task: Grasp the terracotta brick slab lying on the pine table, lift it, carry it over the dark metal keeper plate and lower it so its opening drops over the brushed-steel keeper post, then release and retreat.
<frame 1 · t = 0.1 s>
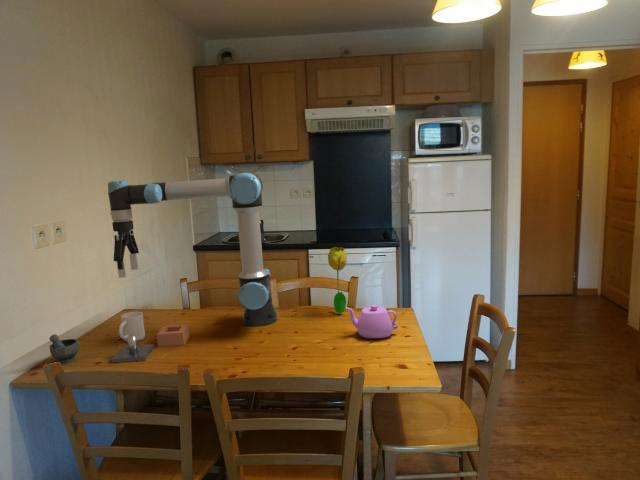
hand: (129, 273, 192), 28 cm above the table, fingers open, 13 cm apart
terracotta brick slab: (174, 341, 193), on the table
mortar and pestle: (65, 362, 178), on the table
keeper: (134, 355, 180), on the table
flower: (340, 315, 213), on the table
teapot: (372, 335, 187), on the table
mug: (131, 340, 197), on the table
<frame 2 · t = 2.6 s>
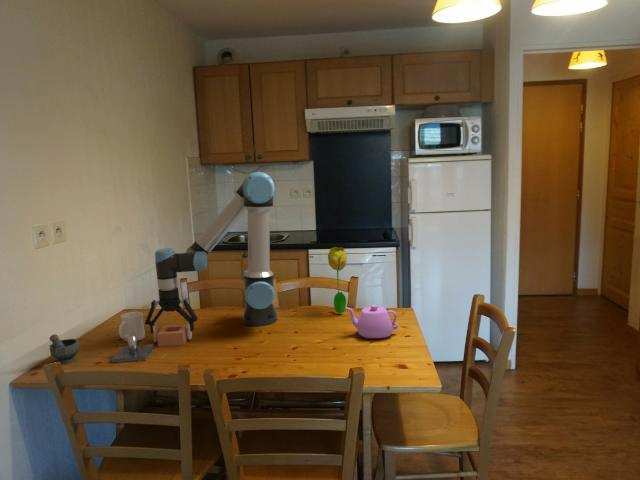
hand: (173, 339, 193), 1 cm above the table, fingers open, 13 cm apart
nothing on the table moved.
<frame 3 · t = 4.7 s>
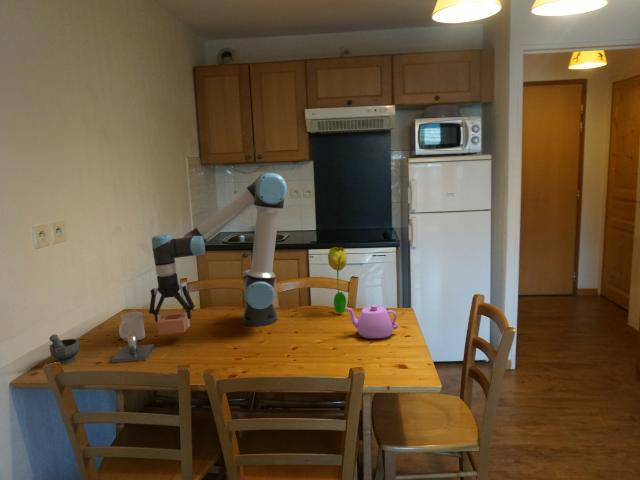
hand: (174, 328, 192), 5 cm above the table, fingers closed on terracotta brick slab, 10 cm apart
terracotta brick slab: (174, 328, 192), point 5 cm above the table, touching gripper
everything else where it was.
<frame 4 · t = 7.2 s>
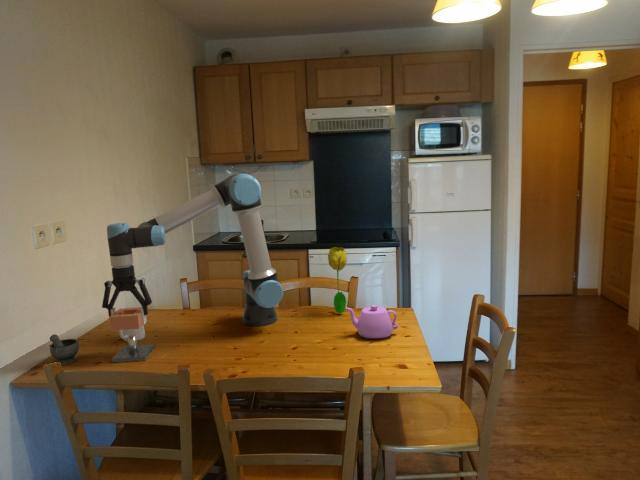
hand: (129, 324, 179), 12 cm above the table, fingers closed on terracotta brick slab, 10 cm apart
terracotta brick slab: (129, 325, 179), point 12 cm above the table, touching gripper
everything else where it was.
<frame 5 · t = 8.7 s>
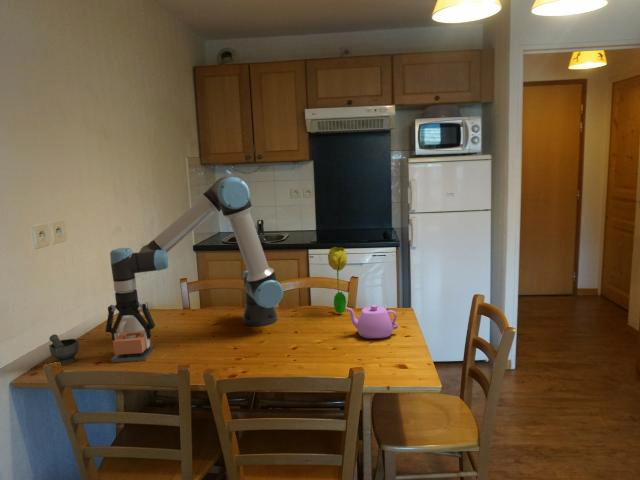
hand: (133, 348, 180), 3 cm above the table, fingers closed on terracotta brick slab, 10 cm apart
terracotta brick slab: (133, 348, 180), point 3 cm above the table, touching gripper
everything else where it was.
when the fingers open (2 cm above the table, at t = 9.7 s): terracotta brick slab stays where it is, resting on keeper.
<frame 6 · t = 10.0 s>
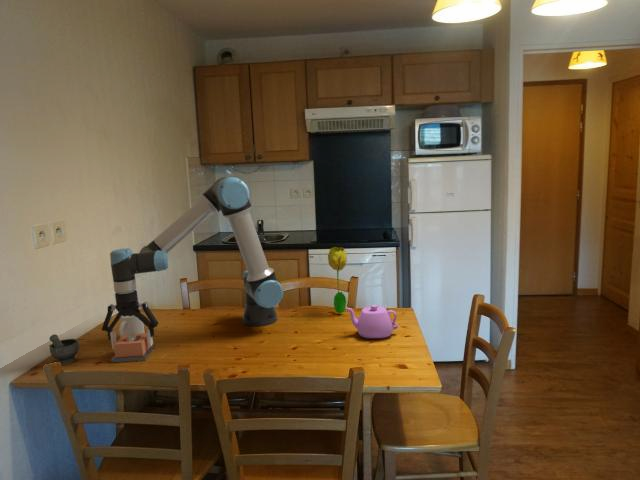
hand: (132, 346, 180), 3 cm above the table, fingers open, 13 cm apart
terracotta brick slab: (133, 351, 180), point 1 cm above the table, touching keeper
everything else where it was.
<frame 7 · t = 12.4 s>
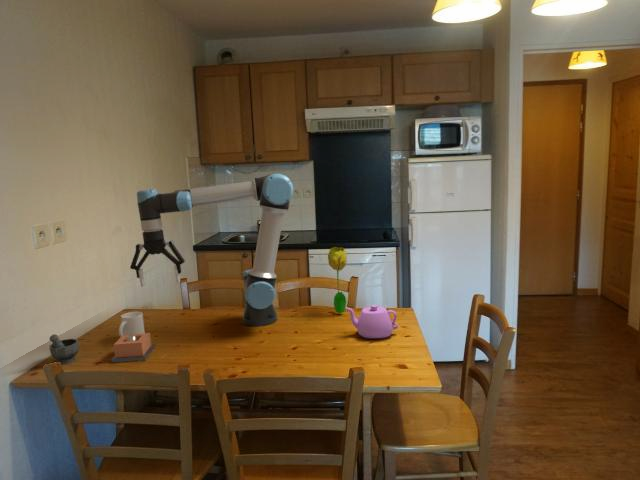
hand: (160, 283, 188), 24 cm above the table, fingers open, 13 cm apart
nothing on the table moved.
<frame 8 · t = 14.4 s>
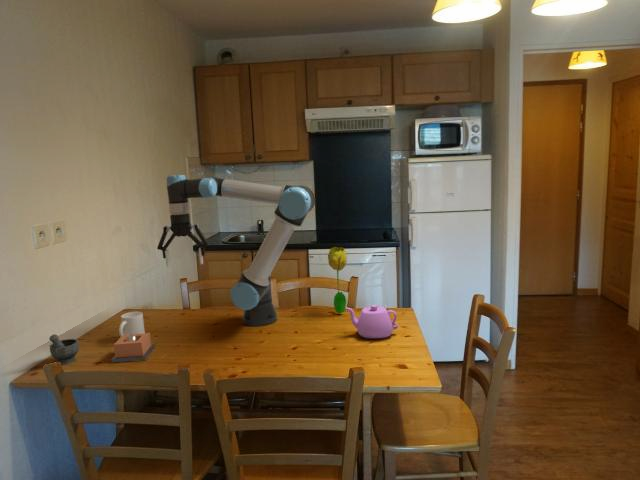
hand: (185, 264, 198), 29 cm above the table, fingers open, 13 cm apart
nothing on the table moved.
at the end: terracotta brick slab 0.1 cm off-centre on the keeper, point 1.5 cm above the keeper's base; the gripper is holding nothing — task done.
